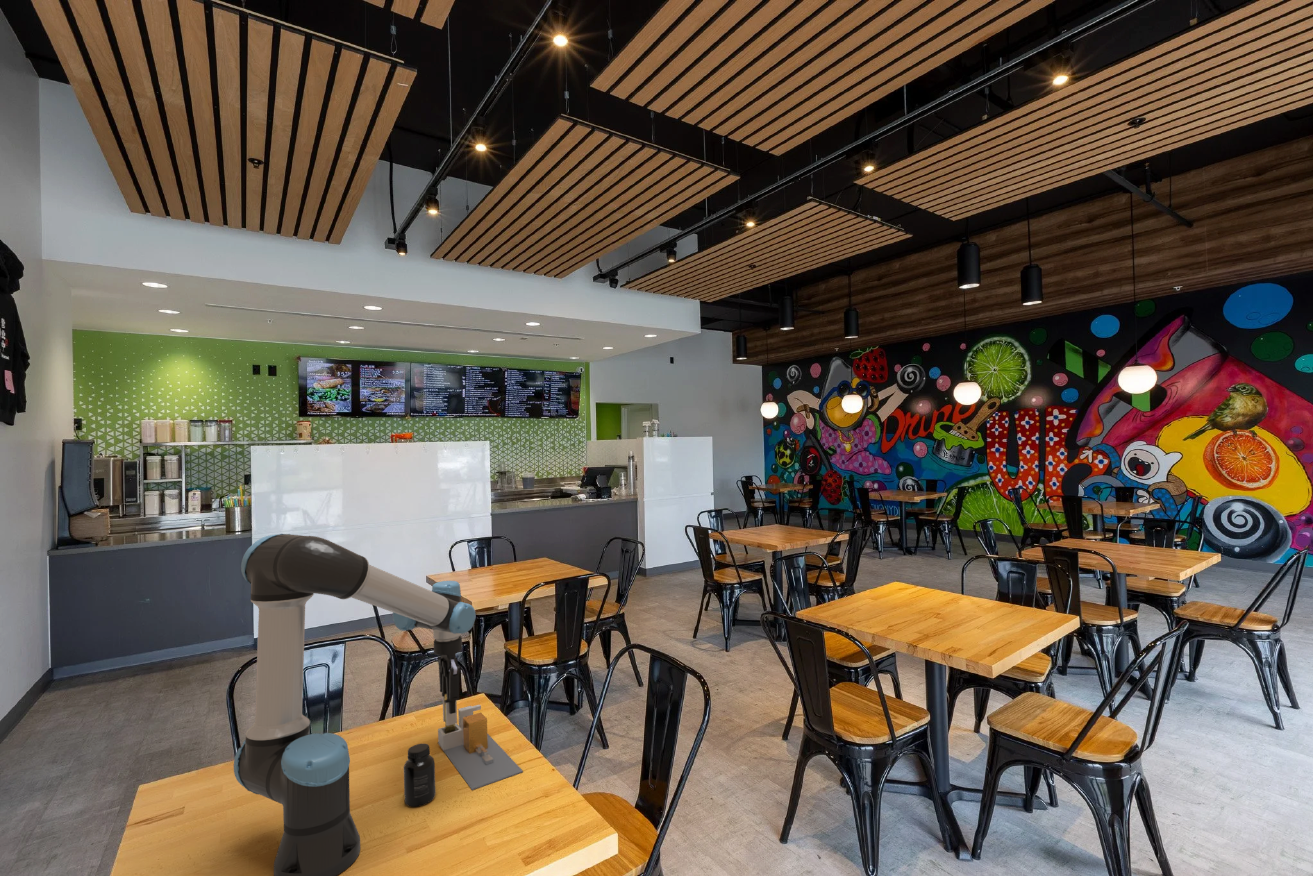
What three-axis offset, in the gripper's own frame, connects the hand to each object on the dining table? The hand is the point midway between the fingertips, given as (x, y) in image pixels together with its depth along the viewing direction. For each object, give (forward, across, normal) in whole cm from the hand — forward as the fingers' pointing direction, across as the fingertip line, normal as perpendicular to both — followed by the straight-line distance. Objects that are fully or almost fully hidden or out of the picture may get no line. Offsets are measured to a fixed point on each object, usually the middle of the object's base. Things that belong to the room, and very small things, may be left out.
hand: (450, 721), depth 168 cm
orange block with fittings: (+6, -11, -5) cm, 13 cm away
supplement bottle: (+7, -22, +14) cm, 27 cm away
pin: (+4, 0, 0) cm, 4 cm away
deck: (+6, -12, -4) cm, 14 cm away
